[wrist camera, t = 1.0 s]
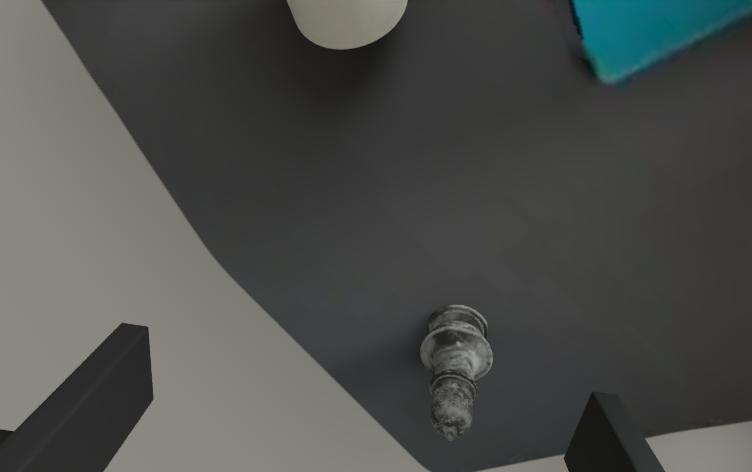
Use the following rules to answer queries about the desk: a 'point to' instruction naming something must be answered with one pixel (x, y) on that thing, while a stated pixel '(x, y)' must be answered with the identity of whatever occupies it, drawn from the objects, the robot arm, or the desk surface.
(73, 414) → the robot arm
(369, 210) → the desk surface
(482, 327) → the salt shaker
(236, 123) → the desk surface
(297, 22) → the paper roll
